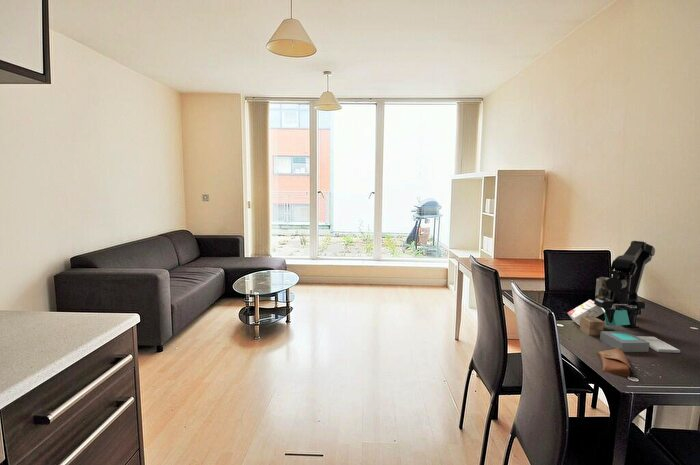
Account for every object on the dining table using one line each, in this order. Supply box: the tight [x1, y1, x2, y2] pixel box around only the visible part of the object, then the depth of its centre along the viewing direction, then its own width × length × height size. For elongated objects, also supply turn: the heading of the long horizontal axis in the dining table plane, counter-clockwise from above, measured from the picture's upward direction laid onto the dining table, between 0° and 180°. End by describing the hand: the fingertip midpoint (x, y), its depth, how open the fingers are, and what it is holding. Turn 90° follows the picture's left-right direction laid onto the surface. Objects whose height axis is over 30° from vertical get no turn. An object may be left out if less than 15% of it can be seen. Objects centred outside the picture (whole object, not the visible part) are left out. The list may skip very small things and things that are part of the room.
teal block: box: [603, 310, 630, 327], centre depth 158 cm, size 6×6×6 cm
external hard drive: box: [636, 335, 681, 354], centre depth 145 cm, size 2×8×12 cm
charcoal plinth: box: [599, 330, 650, 353], centre depth 144 cm, size 11×11×4 cm
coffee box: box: [594, 276, 616, 309], centre depth 186 cm, size 9×6×16 cm
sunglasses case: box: [596, 347, 635, 378], centre depth 128 cm, size 18×7×7 cm
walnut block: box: [579, 317, 605, 336], centre depth 157 cm, size 6×6×6 cm
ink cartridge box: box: [567, 299, 605, 326], centre depth 165 cm, size 9×5×15 cm
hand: (617, 322), depth 158 cm, fingers closed on teal block, 6 cm apart
